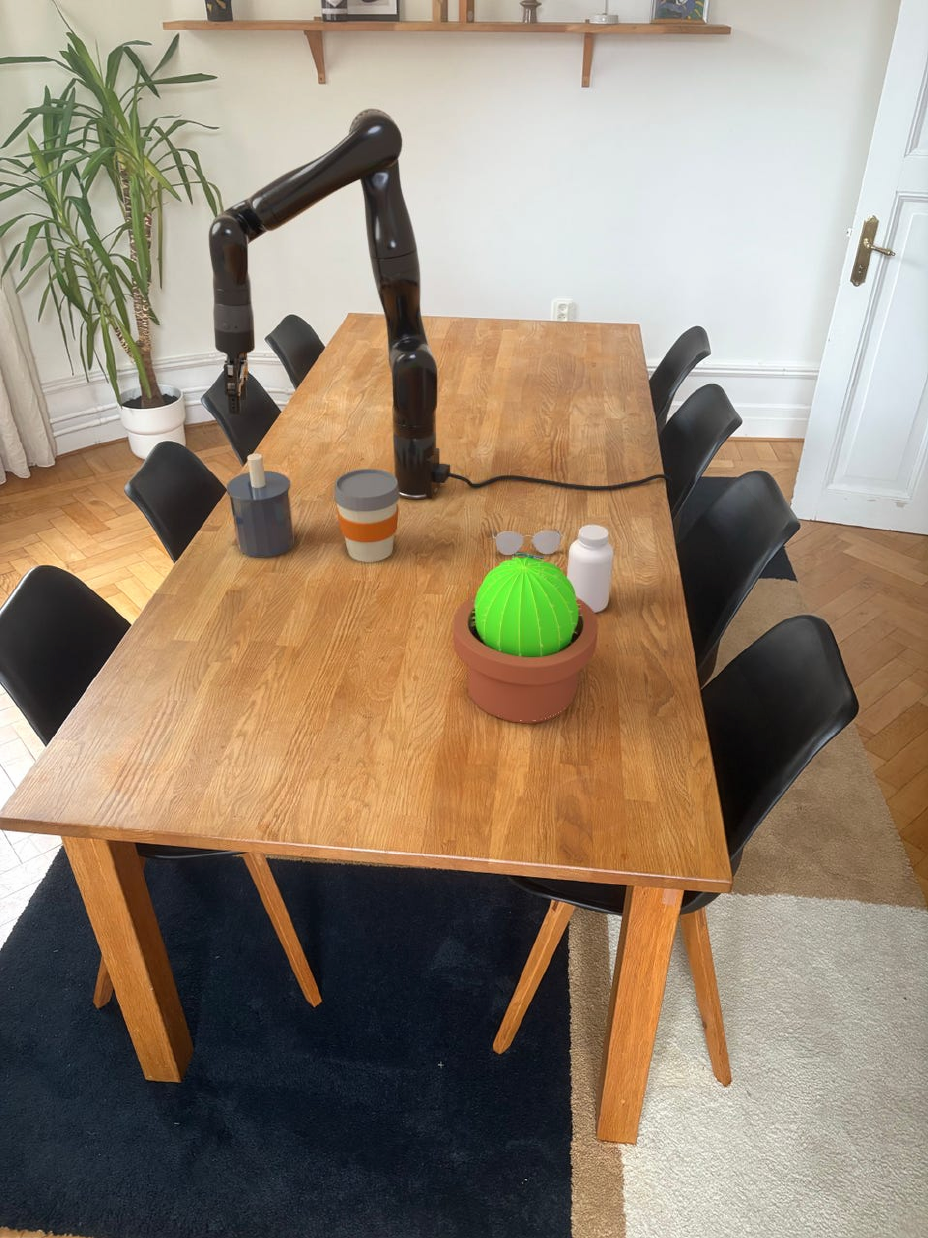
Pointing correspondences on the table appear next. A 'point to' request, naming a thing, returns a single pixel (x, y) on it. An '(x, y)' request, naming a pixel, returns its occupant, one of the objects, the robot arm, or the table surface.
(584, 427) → the table surface
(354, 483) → the reusable coffee cup
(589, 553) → the pill bottle
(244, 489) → the lid
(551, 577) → the potted cactus
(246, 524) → the blue handleless cup
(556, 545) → the sunglasses
